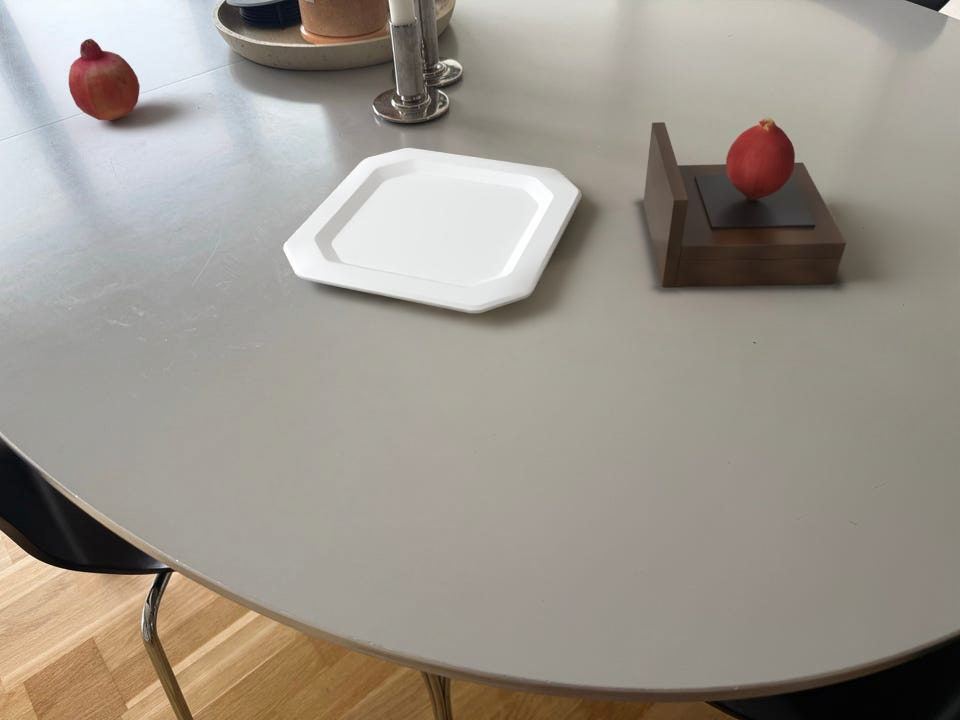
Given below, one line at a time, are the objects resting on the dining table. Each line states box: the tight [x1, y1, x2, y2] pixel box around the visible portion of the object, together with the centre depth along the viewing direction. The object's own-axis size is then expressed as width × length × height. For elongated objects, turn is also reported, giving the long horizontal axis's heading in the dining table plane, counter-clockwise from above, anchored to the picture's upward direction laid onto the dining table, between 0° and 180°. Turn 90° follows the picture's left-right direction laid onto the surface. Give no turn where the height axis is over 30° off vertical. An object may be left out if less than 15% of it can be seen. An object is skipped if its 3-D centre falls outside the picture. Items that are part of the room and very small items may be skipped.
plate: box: [283, 147, 583, 314], centre depth 80 cm, size 25×25×2 cm
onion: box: [725, 117, 796, 200], centre depth 72 cm, size 6×6×8 cm
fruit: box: [68, 38, 141, 121], centre depth 100 cm, size 8×8×10 cm
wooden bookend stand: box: [642, 121, 847, 288], centre depth 75 cm, size 15×14×9 cm
